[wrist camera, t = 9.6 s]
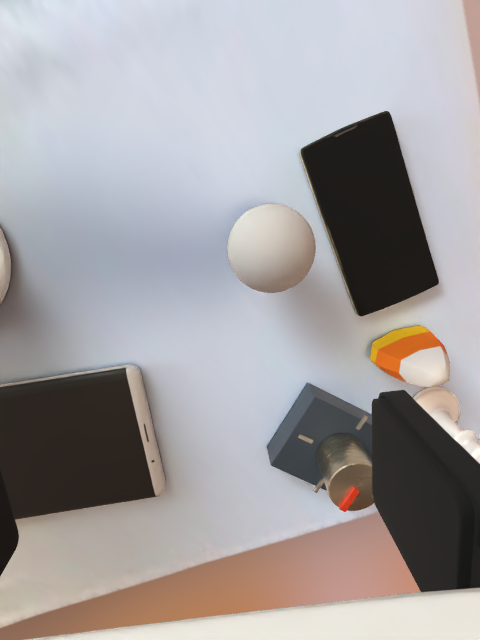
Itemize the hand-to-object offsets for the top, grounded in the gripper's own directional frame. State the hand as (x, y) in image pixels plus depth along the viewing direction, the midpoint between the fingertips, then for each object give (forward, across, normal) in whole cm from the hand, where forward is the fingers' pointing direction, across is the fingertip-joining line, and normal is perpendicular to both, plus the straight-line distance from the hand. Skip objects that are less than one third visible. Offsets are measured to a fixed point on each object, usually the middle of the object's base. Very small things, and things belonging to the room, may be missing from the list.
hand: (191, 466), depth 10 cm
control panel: (+26, -10, +16) cm, 33 cm away
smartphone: (+26, -14, -4) cm, 30 cm away
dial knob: (+23, -10, +17) cm, 30 cm away
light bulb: (+26, -5, -3) cm, 27 cm away
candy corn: (+26, -16, +8) cm, 32 cm away
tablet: (+26, +20, +14) cm, 36 cm away
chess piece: (+26, -20, +15) cm, 36 cm away
